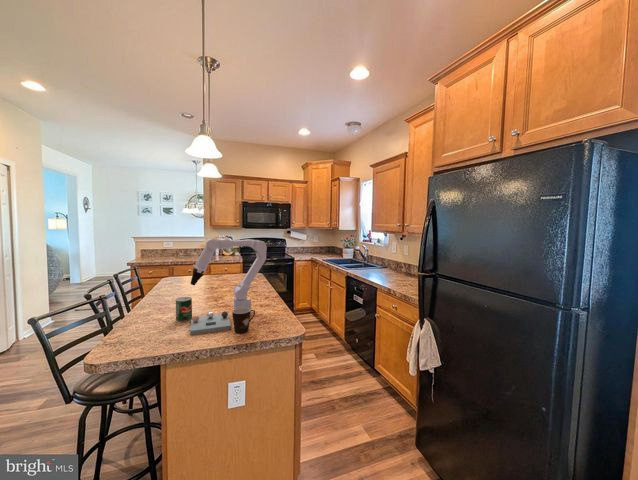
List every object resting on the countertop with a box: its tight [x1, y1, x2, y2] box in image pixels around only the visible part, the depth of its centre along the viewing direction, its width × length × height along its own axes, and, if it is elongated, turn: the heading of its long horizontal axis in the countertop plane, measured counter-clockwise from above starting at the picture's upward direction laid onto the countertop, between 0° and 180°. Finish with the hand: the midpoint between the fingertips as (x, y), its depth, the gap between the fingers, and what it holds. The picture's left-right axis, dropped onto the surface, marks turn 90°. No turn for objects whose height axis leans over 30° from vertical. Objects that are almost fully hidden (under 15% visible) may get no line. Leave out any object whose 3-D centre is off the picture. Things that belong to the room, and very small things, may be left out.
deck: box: [189, 313, 232, 336], centre depth 136 cm, size 18×20×2 cm
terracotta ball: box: [191, 314, 199, 322], centre depth 135 cm, size 3×3×3 cm
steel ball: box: [206, 311, 215, 318], centre depth 141 cm, size 3×3×3 cm
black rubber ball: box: [221, 311, 229, 318], centre depth 142 cm, size 3×3×3 cm
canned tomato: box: [175, 296, 193, 322], centre depth 145 cm, size 8×8×11 cm
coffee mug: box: [231, 308, 256, 335], centre depth 129 cm, size 12×9×10 cm
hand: (192, 283), depth 141 cm, fingers open, 7 cm apart
